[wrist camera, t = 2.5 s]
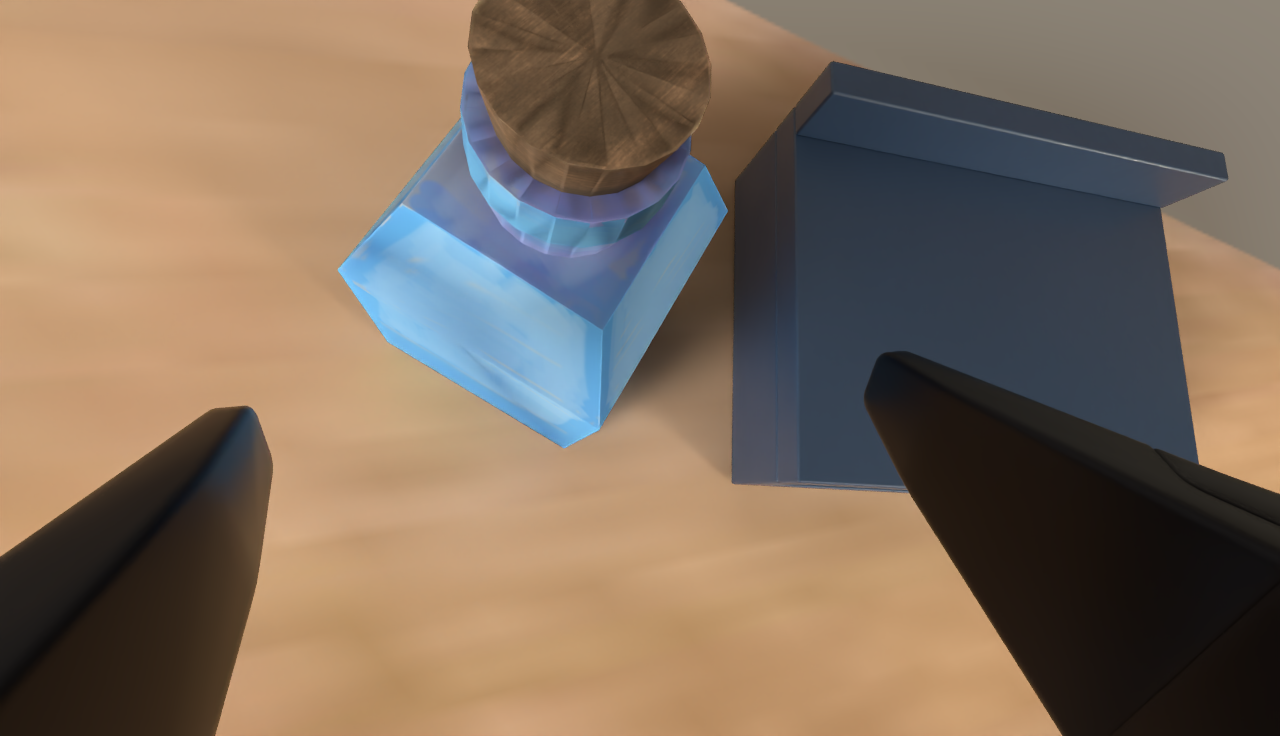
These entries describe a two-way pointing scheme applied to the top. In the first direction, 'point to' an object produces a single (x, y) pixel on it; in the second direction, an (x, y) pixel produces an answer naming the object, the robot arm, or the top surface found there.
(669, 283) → the perfume bottle
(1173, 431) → the riser shelf
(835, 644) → the top surface
